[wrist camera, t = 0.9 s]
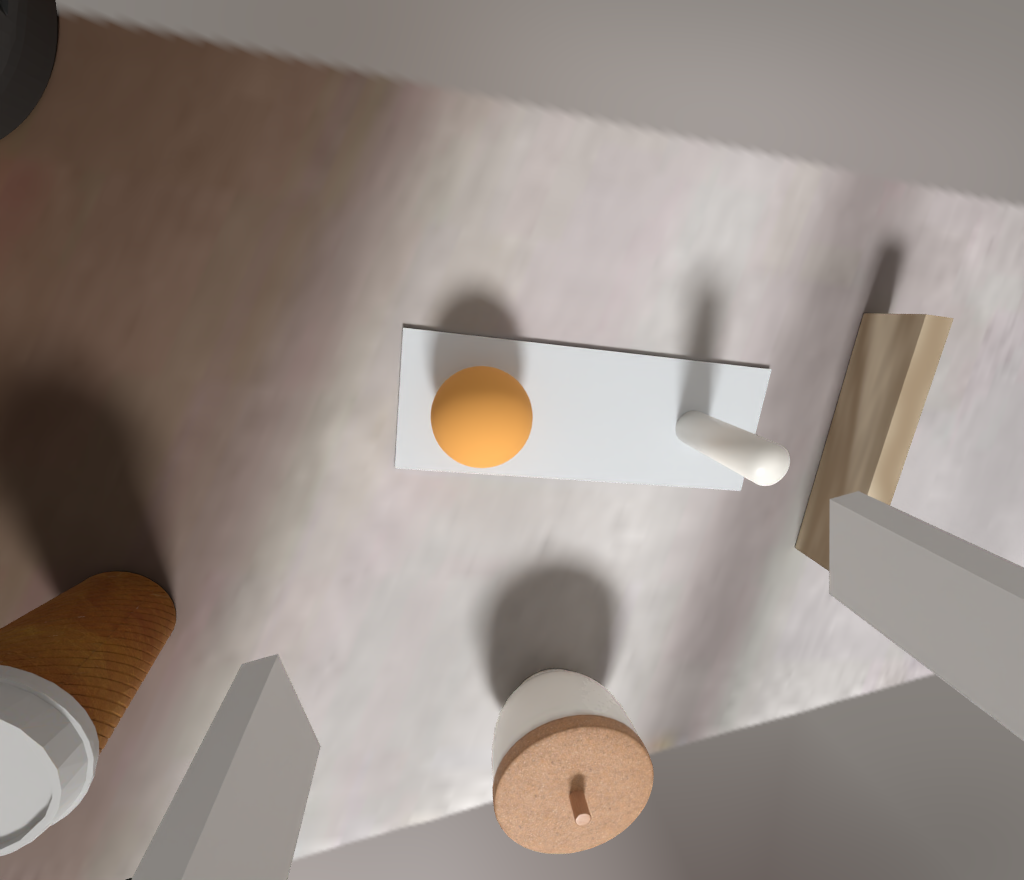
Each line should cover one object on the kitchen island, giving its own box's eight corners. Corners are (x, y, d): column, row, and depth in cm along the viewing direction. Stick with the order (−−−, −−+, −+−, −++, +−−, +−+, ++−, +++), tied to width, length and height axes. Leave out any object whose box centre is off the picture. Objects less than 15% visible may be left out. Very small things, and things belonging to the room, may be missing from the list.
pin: (667, 427, 34) (740, 465, 25) (693, 402, 33) (774, 434, 25) (687, 449, 34) (764, 494, 26) (712, 426, 34) (797, 463, 26)
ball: (411, 408, 31) (405, 431, 25) (477, 340, 30) (486, 348, 24) (478, 468, 32) (486, 503, 27) (542, 406, 32) (564, 428, 26)
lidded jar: (511, 630, 36) (535, 736, 27) (634, 659, 39) (693, 765, 30) (464, 741, 38) (471, 874, 29) (584, 762, 41) (624, 891, 32)
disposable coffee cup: (222, 576, 32) (100, 728, 20) (177, 689, 34) (42, 887, 22) (62, 526, 30) (-176, 665, 18) (23, 650, 31) (-218, 850, 20)
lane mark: (394, 467, 32) (394, 468, 31) (403, 327, 29) (403, 327, 29) (739, 489, 36) (740, 490, 36) (769, 369, 33) (771, 369, 33)
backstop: (794, 547, 38) (840, 578, 34) (863, 313, 33) (926, 314, 29) (817, 548, 38) (864, 579, 34) (888, 316, 34) (953, 318, 29)
